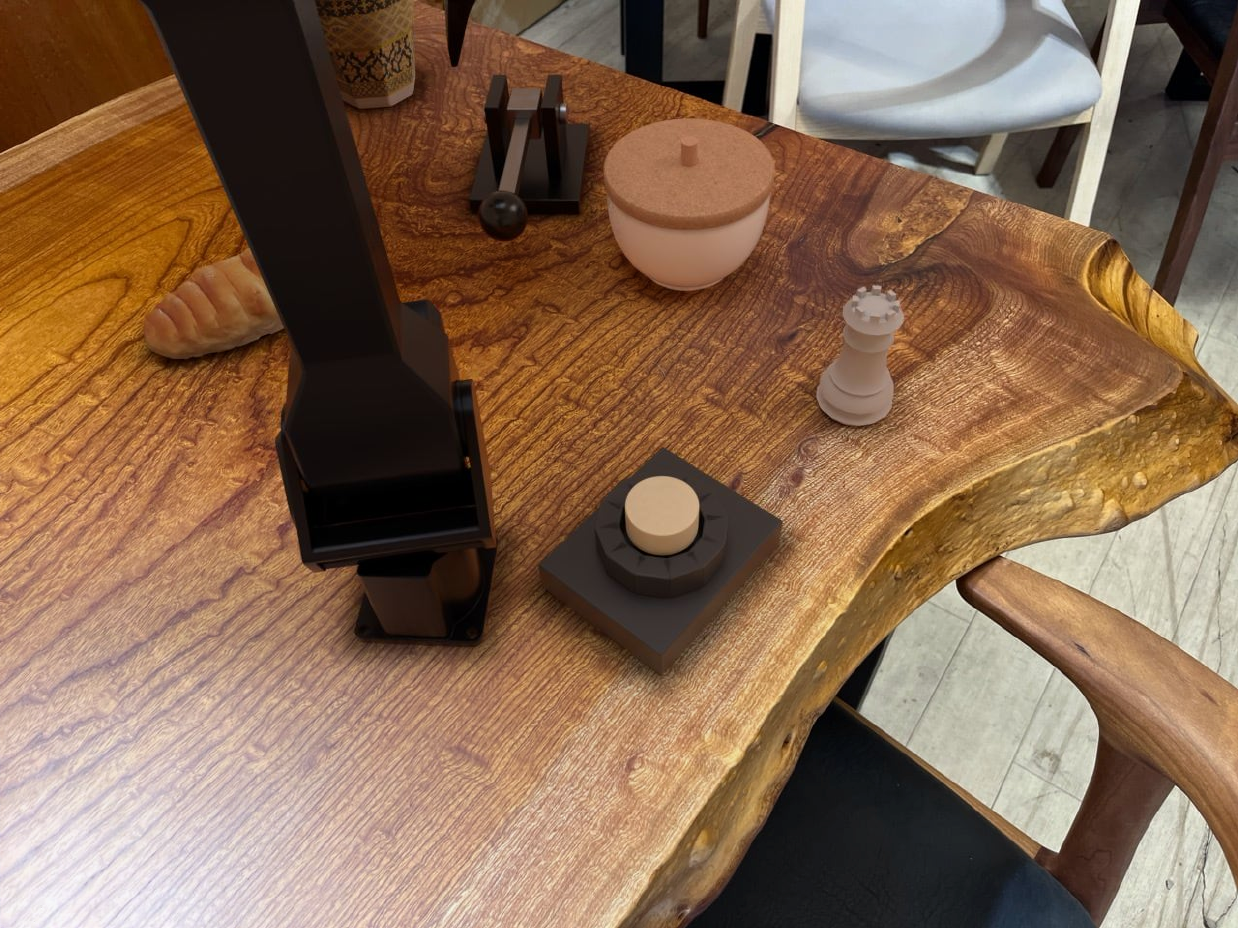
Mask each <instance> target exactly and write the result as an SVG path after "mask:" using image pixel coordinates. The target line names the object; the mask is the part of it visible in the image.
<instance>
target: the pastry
mask: <svg viewBox="0 0 1238 928" xmlns="http://www.w3.org/2000/svg"><path fill="white" fill-rule="evenodd" d="M283 329H284V327H283V325H282V322H281V320H280V318H279V315H278V313H277V311H276V308H275V306H274V304H273V301H272V299H271V297H270V295H269V292H268V290H267V288H266V285H265V283H264V281H263V278H262V276H261V274H260V271H259V269H258V267H257V264H256V262H255V260H254V257H253V255H252V253H251V250H250V248H249V247H247V248H245V249H244V251H243V252H242V253H240V254H239V255H234V256H231V257H229V258H227V259H223V260H218V261H215V262H213V263H212V264H210V265H203V266H202V267H199V268H197V269H195V271H193V273H192V275H191V276H190V277H189V278H188V279H187V280H186V281H184V282H183V283H181V285H180V286H179V287H178V288H177V289H176V290H174V291H172V292H169V293H168V294H166V295H165V296H164V297H163V298H162V299H161V301H160V302H158V303H156V305H155V306H154V307H153V308H152V309H151V311H149V312H148V313H147V314H146V315H145V317H144V321H143V326H142V330H143V337H144V342H145V344H146V345H147V347H148V348H149V350H150V351H151V352H153V353H155V354H157V355H160V356H163V357H165V358H169V359H173V360H179V359H184V360H188V359H190V358H201V357H204V355H207V354H213V353H224V352H226V351H231V350H233V349H235V348H236V347H237V348H239V347H242V346H245V345H248V344H250V343H252V342H254V341H258V340H260V338H261V337H263V336H265V335H268V334H269V335H273V334H274V333H277V332H280V331H281V330H283Z"/></svg>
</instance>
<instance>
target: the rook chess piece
mask: <svg viewBox="0 0 1238 928" xmlns="http://www.w3.org/2000/svg"><path fill="white" fill-rule="evenodd" d="M882 287H883V286H882V285H877V284H876V285H875V284H872V287H871V291H867V290H868V289H867V288H866V287H865V286H862V287H859V288H858V289H856V292H855V295H854V294H853V295H852V297H851V298H850V299H848V301H846V303H845V304H844V305H843V307H842V317H843V319H844V321H845V323H846V324H845V326H844V327H843V329H842V337H843V339H844V340H843V341H844V342H843V345H842V348H841V349H840V352H839V355H838V357H836V358H835V359H834V360H833V362H832V363H830V364H829V365H828V366H827V367H826V369H825V370H823V372H822V374H821V376H820V378H819V384H818V386H817V388H816V400H817V402H818V405H819V407H820V409H821V410H822V411H823V412H824V413H825V414H826V415H827V416H828V417H829V418H831V419H832V420H833V421H835V422H837V423H840V424H842V425H844V426H852V427H863V426H867V425H868V426H869V425H872V424H875V423H877V422H879V421H881V420H882V419H884V418H886V417H887V415H888V414H889V412H890V410H891V409H892V408H893V407H892V406H893V398H894V393H895V392H894V390H895V386H894V381H893V379H892V377H891V374H890V370H889V369H888V367H887V357H888V350H889V349H890V348H891V347H892V345H893V344H894V343H895V332H896V331H897V330H899V329H900V328H901V326H902V325H903V323H904V319H905V314H904V312H903V310H902V308H901V300H896V299H897V295H898V293H896V292H895V291H893V289H889V290H888V291H886V294H885V293H882Z"/></svg>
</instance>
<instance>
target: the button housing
mask: <svg viewBox="0 0 1238 928" xmlns="http://www.w3.org/2000/svg"><path fill="white" fill-rule="evenodd" d="M656 476H668V477H673V478H676V479H679V480H681V481H683V482H685V483H686V484H688V485H689V486H690V487H691V488H692V489H693V490H694V492H695V493H696V495H697V497H698V500H699V523H698V532H697V535H696V537H695V539H694V541H693V542H692V543H691V544H690V545H689V546H688V547H687V548H685V549H684V550H682V551H680V552H678V553H675V554H671V555H662V556H661V555H653V554H649V553H646V552H644V551H642V550H641V549H639V548H638V547H636V546H635V545H634V544H633V543H632V541H631V540H630V539H629V537H628V534H627V531H626V520H625V501H626V498H627V495H628V493H629V492H630V490H631V489H632V488H633V487H634V486H635V485H636V484H638V483H639V482H641V481H643V480H645V479H648V478H651V477H656ZM783 523H784V521H783V520H782V519H781V518H779V517H778V516H775V515H774V514H772V513H771V512H769V511H768V510H766V509H765V508H763V507H761V506H760V505H757V504H756V503H755V502H753V501H751V500H749V498H746V497H745V496H743V495H741V494H740V493H739V492H737V491H735V490H733V489H732V488H730V487H729V486H727V485H726V484H724V483H722V482H721V481H719V480H717V479H716V478H714V477H713V476H711V475H709V474H708V473H706V472H704V470H701V469H700V468H698V467H696V466H695V465H693V464H692V463H690V462H689V461H687V460H685V459H683V458H681V457H680V456H679V455H677V454H676V453H674V452H672V451H670V450H669V449H667V448H666V447H664V446H661V447H660V449H659V450H657V451H656V452H655V453H654V454H653V455H652V456H651V457H650V458H649V459H648V460H647V461H645V463H644V464H642V466H641V467H639V468H638V469H637V470H636V471H635V472H634V473H633V474H632V475H631V476H629V477H626V478H624V479H622V480H621V481H620V482H619V483H618V484H617V485H615V486H614V487H613V488H612V489H611V490H610V491H609V492H608V493H607V494H606V495H605V496H604V497H603V498H602V499H601V500H600V503H599V506H598V507H597V508H596V509H595V510H594V511H593V512H592V513H591V514H590V515H589V516H588V517H587V518H585V519H584V520H583V522H581V523H580V524H579V525H578V526H577V527H576V528H575V529H573V530H572V532H571V533H570V534H569V535H567V536H566V538H565V539H563V540H562V541H561V542H560V543H559V544H558V545H557V546H556V547H555V548H554V549H553V550H552V551H550V553H549V554H547V556H545V558H544V559H542V560H541V561H540V562H539V563H538V564H537V566H538V571H539V572H538V573H539V577H540V584H541V587H542V588H543V590H545V591H547V592H548V593H550V594H551V595H552V596H553V597H555V598H556V599H557V600H559V601H560V602H562V604H564V605H565V606H567V607H568V608H570V609H571V610H572V611H573V612H575V613H576V614H577V615H579V616H580V617H582V618H583V619H584V620H585V621H587V622H588V623H589V624H591V625H592V626H594V628H596V629H597V630H598V631H600V632H601V633H603V634H604V635H606V637H608V638H609V639H611V640H612V641H614V642H615V643H616V644H617V645H619V646H620V647H621V648H623V649H624V650H625V651H627V653H629V654H631V655H632V656H634V657H635V658H636V659H637V660H638V661H640V662H641V663H643V664H644V665H645V666H647V667H648V668H649V669H650V670H652V671H653V672H655V673H656V674H657V675H658V676H664V674H665V673H666V672H667V671H668V670H669V669H670V667H671V666H672V665H673V664H674V662H676V661H677V660H678V658H680V656H682V654H683V652H684V651H685V650H686V649H687V648H689V646H690V645H691V644H692V642H694V640H695V639H697V637H698V636H699V635H700V634H701V633H702V631H703V630H704V629H705V628H706V627H707V626H708V625H709V624H710V622H711V621H712V620H713V619H714V618H715V617H716V616H717V615H718V614H719V612H721V610H722V609H723V608H724V606H726V604H727V603H728V602H729V601H730V600H731V599H732V598H733V596H735V594H737V592H738V591H739V590H740V589H741V588H742V586H743V585H744V584H745V583H746V582H747V581H748V580H749V579H750V578H751V576H752V575H753V574H754V573H755V572H756V571H757V570H758V568H759V567H760V566H762V564H763V563H764V562H765V561H766V560H767V559H768V558H769V556H770V555H771V554H772V553H773V552H774V551H775V549H776V548H777V547H778V546H779V545H780V541H781V535H782V528H783Z"/></svg>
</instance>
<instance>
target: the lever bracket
mask: <svg viewBox="0 0 1238 928" xmlns="http://www.w3.org/2000/svg"><path fill="white" fill-rule="evenodd" d="M509 91H510V90H509V84H508V77H507V74H492V77H491V81H490V84H489V88H488V92H487V95H486V99H485V103H484V104H483V107H482V115H483V122H484V124H485V125H486V133H485V137H484V141H483V144H482V148H481V153H480V155H479V160H478V164H477V168H476V171H475V176H474V179H473V183H472V187H471V191H470V193H469V198H468V204H469V208H470V213H471V214H478V211H479V207H480V204H481V202H482V201H483V199H484V198H485V197H486V196H487V195H489V194H490V193H492V192H495V191H499V186H500V182H501V178H502V174H503V169H504V165H505V161H506V156H507V152H508V148H509V144H510V139H511V138H510V131H509V124H508V117H507V105H508V101H509V97H510V93H509ZM542 97H543V100H542V105H541V113H542V122H543V128H542V133H541V138H540V139H530V141H529V146H528V151H527V155H526V160H525V165H524V170H523V174H522V179H521V184H520V188H519V193H518V196H519V197H520V198H521V199H522V200H523V202H524V203H525V205H526V208H527V211H528V214H545V215H547V214H549V215H550V214H552V215H553V214H554V215H555V214H561V215H562V214H563V215H580V212H581V205H582V200H583V191H584V186H585V185H584V184H585V178H586V170H587V164H588V157H589V149H590V143H591V124H590V123H569V105H568V103H565V102H564V89H563V77H562V74H547V76H546V82H545V86H544V92H543V95H542Z"/></svg>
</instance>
